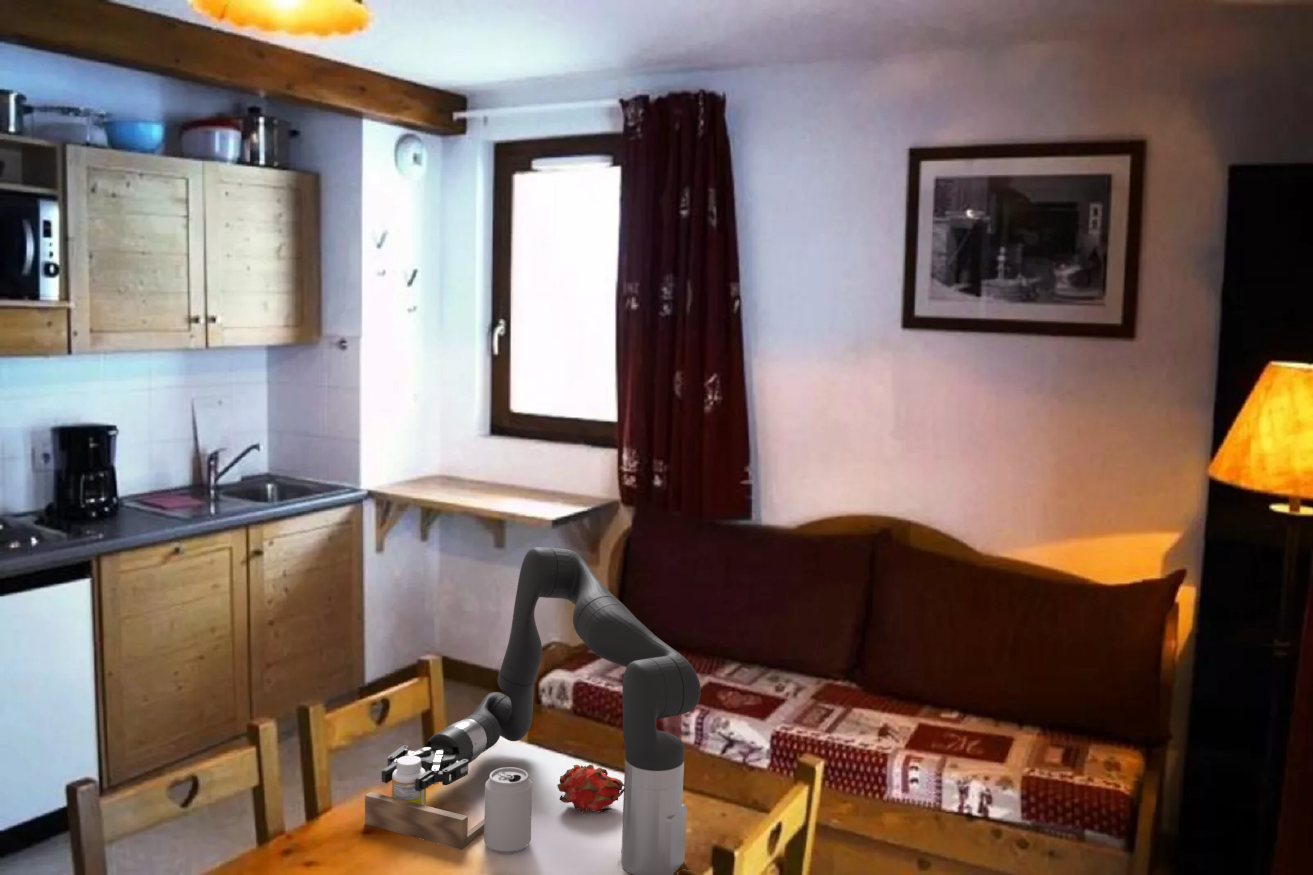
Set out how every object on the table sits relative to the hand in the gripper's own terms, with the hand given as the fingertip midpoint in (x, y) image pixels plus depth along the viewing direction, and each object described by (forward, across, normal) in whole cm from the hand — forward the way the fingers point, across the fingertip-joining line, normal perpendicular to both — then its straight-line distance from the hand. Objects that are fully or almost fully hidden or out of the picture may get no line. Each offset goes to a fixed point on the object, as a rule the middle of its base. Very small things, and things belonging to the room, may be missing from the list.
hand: (400, 781), depth 182 cm
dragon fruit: (-20, +26, +8) cm, 33 cm away
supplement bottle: (-2, 0, +8) cm, 8 cm away
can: (-2, +20, +8) cm, 21 cm away
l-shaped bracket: (-2, +4, +7) cm, 9 cm away
